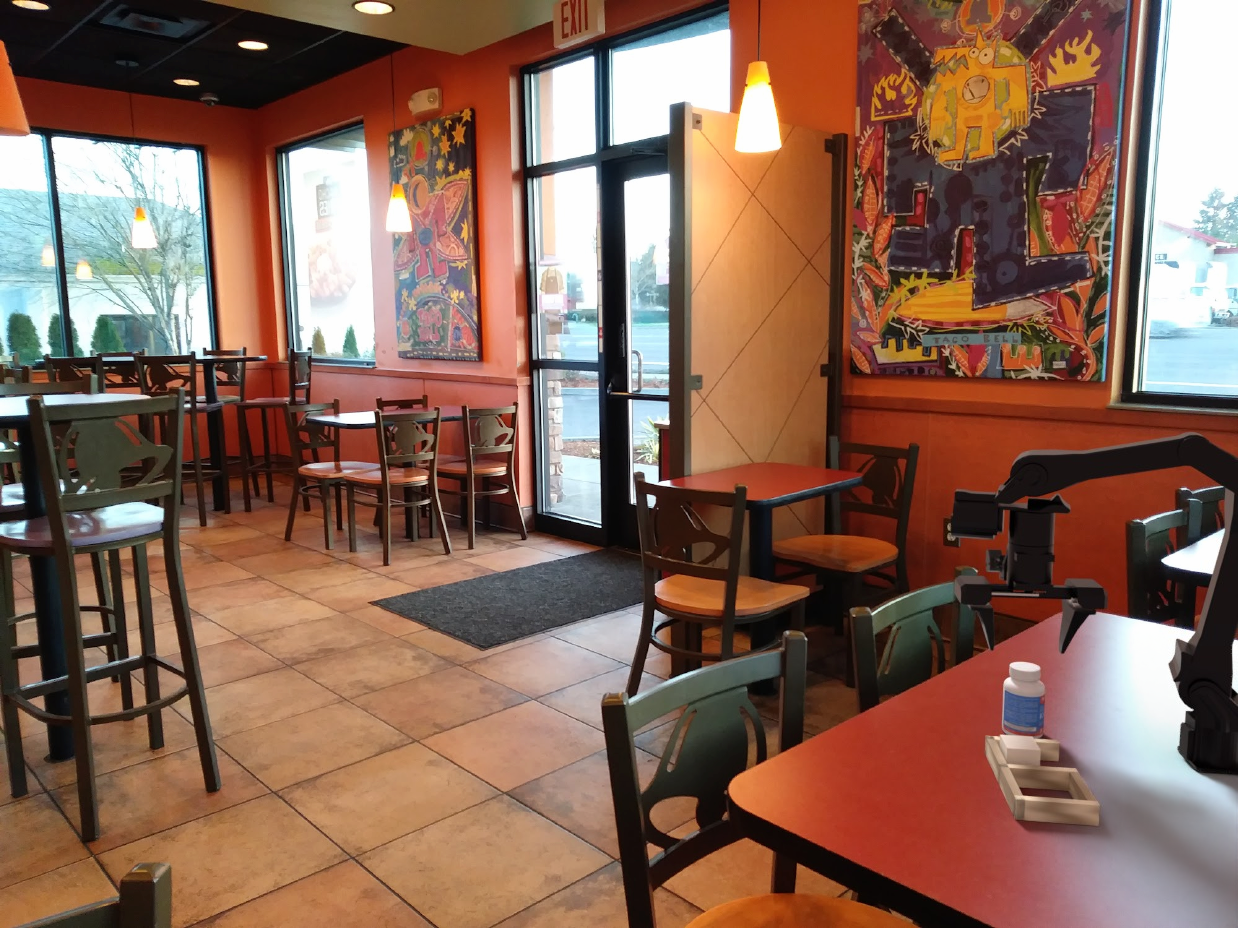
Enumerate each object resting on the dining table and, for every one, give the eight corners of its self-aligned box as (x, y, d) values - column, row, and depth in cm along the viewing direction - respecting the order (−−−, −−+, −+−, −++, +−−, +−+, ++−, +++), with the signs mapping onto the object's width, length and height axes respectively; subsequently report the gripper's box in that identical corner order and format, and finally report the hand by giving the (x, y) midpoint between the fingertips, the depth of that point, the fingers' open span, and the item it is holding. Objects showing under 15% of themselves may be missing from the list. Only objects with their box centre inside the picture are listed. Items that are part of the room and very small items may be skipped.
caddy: (1056, 757, 119) (1057, 739, 119) (1098, 825, 102) (1099, 805, 102) (984, 753, 121) (985, 735, 120) (1015, 819, 104) (1015, 799, 104)
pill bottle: (1048, 742, 124) (1051, 674, 122) (1006, 739, 125) (1009, 672, 123) (1037, 725, 129) (1040, 660, 128) (998, 723, 130) (1000, 658, 129)
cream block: (1031, 765, 117) (1032, 736, 117) (1039, 779, 113) (1040, 750, 113) (998, 763, 118) (999, 734, 118) (1005, 777, 114) (1007, 747, 114)
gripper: (1085, 531, 129) (1080, 635, 131) (949, 528, 133) (946, 630, 135) (1112, 549, 118) (1105, 662, 120) (963, 546, 122) (959, 655, 124)
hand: (1026, 651), depth 125 cm, fingers open, 9 cm apart
